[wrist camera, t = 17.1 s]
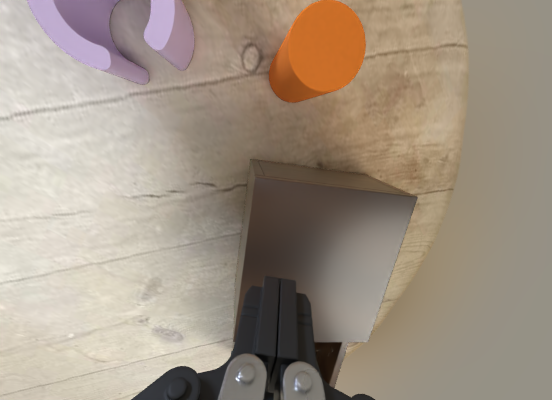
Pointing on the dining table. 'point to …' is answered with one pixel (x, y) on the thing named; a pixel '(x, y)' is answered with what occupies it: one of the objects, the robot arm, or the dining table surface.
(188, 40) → the clip
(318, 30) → the roller
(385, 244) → the cabinet
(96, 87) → the dining table surface
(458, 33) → the dining table surface
